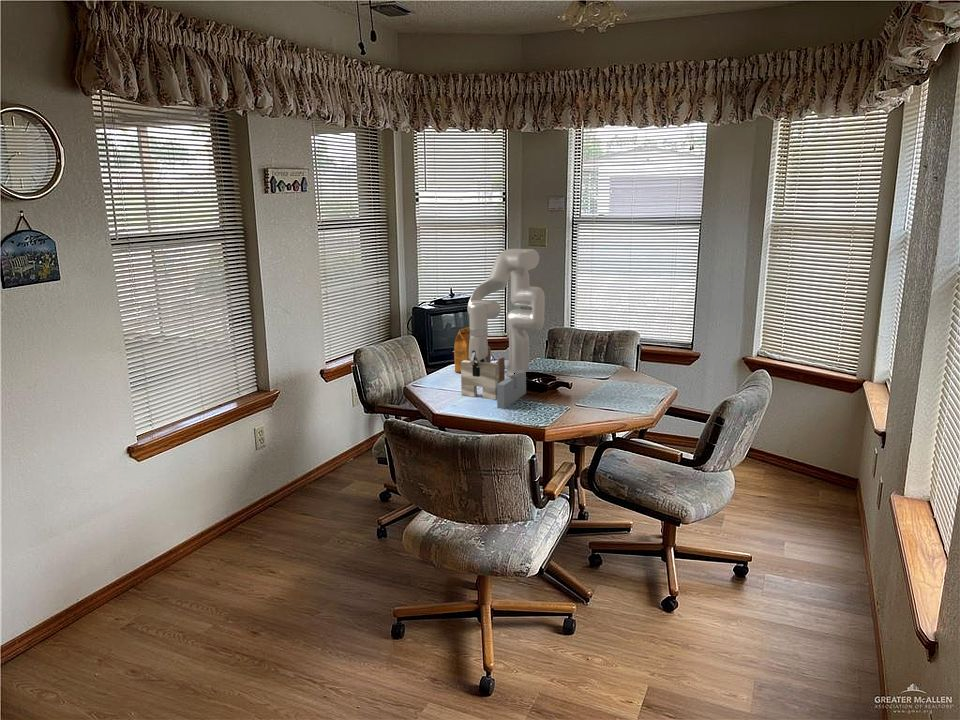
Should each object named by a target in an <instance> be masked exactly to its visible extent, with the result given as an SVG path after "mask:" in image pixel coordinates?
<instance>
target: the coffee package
mask: <svg viewBox="0 0 960 720" xmlns="http://www.w3.org/2000/svg"><path fill="white" fill-rule="evenodd" d="M469 341H470V326H468V327H464V328H461V329H459V331H458V332H457V335H456V337H455V340H454V347H453V349H454V350H453V355H454V357H453V358H454V372H455V373H458V374H459V373H460V374H461V362H462V361H464V360H466V361H470V360H469ZM475 360H477V359H475Z"/></svg>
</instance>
